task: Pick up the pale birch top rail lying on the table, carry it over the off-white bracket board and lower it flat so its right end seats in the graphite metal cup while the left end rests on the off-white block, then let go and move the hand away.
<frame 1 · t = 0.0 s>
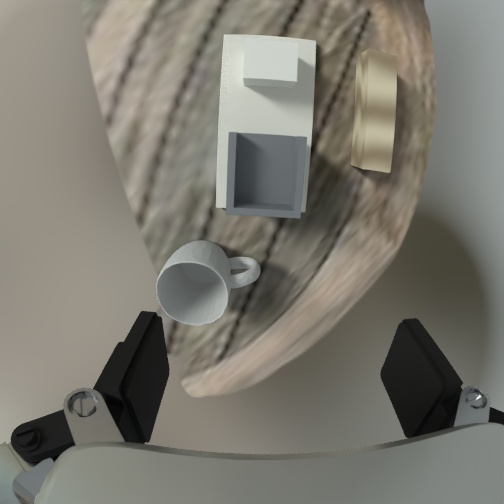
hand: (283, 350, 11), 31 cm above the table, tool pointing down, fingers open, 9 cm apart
mug: (216, 259, 44), on the table
cup bracket: (266, 112, 36), on the table
top rail: (367, 111, 35), on the table
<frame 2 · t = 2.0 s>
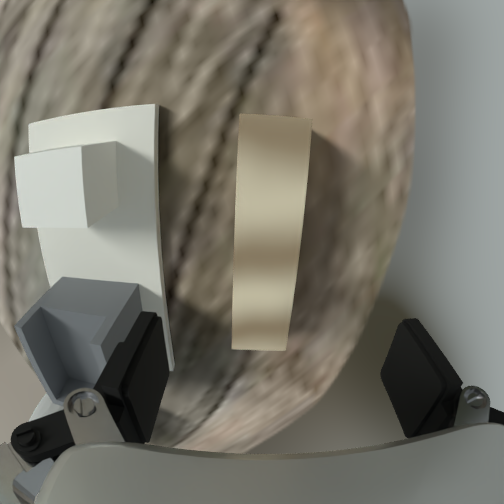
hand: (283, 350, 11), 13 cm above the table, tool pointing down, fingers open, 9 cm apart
mug: (95, 392, 31), on the table
cup bracket: (96, 243, 23), on the table
top rail: (263, 224, 23), on the table
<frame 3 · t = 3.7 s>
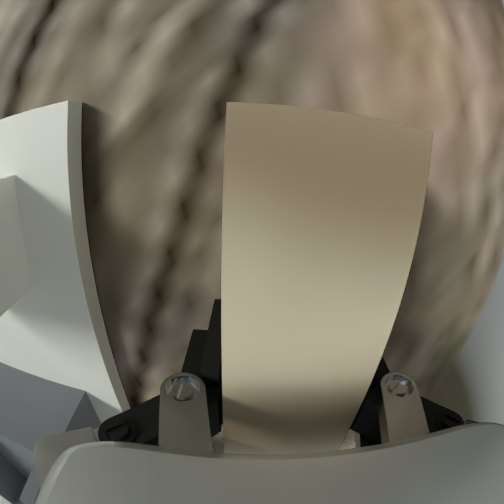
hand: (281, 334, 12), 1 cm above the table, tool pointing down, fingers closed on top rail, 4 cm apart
cup bracket: (25, 326, 13), on the table
top rail: (280, 325, 12), on the table, touching gripper
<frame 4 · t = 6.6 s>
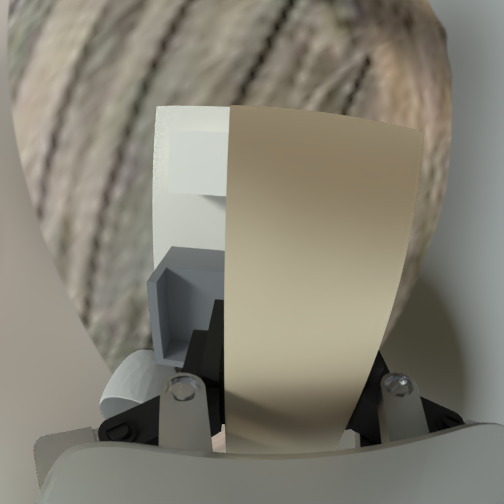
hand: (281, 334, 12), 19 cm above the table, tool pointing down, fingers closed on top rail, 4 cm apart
mug: (165, 365, 37), on the table
cup bracket: (212, 217, 30), on the table
top rail: (280, 322, 13), point 18 cm above the table, touching gripper
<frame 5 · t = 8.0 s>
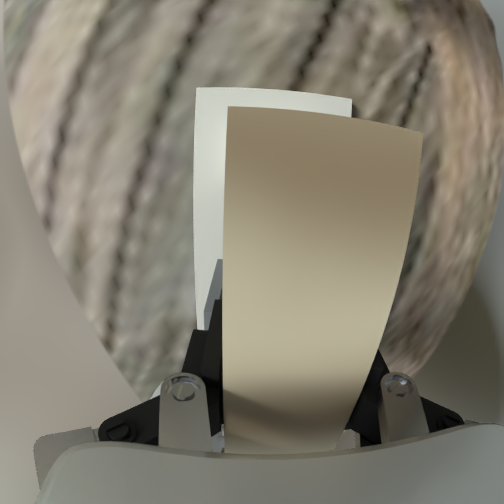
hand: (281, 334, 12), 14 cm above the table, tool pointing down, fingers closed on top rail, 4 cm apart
cup bracket: (266, 223, 25), on the table
top rail: (279, 323, 13), point 14 cm above the table, touching gripper
when the fingers open (8 cm above the table, at t = 9.4 s): top rail drops 1 cm, resting on cup bracket.
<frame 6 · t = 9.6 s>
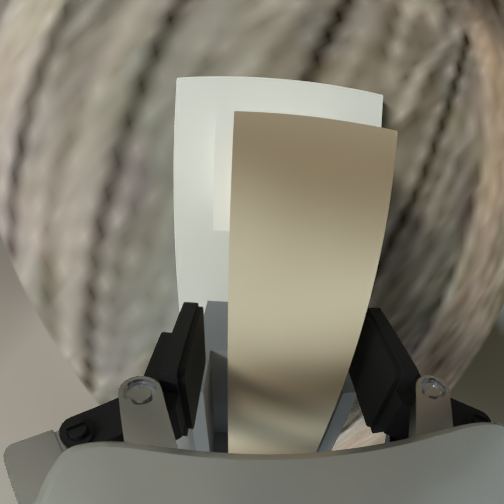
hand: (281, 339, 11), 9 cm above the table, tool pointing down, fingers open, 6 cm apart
cup bracket: (270, 256, 19), on the table
top rail: (278, 305, 14), point 6 cm above the table, touching cup bracket
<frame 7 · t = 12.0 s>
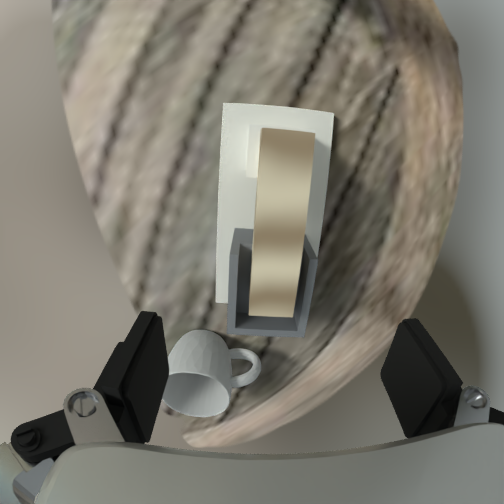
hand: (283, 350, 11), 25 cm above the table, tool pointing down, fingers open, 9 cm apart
mug: (216, 344, 42), on the table
cup bracket: (271, 202, 34), on the table
top rail: (275, 215, 28), point 6 cm above the table, touching cup bracket
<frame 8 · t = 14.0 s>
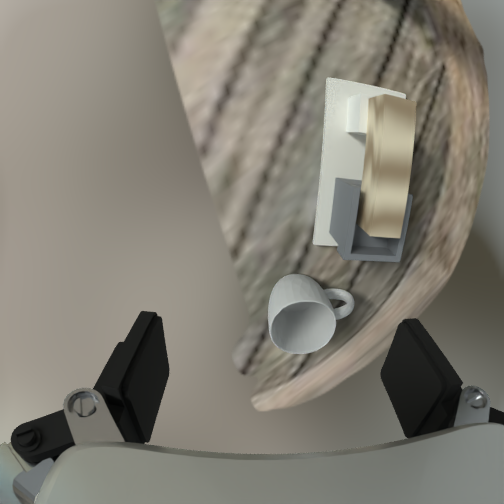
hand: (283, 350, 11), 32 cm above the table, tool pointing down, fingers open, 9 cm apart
mug: (305, 289, 47), on the table
cup bracket: (361, 159, 39), on the table
top rail: (378, 163, 33), point 6 cm above the table, touching cup bracket
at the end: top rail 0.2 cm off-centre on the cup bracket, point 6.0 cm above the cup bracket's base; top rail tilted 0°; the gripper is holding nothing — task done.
